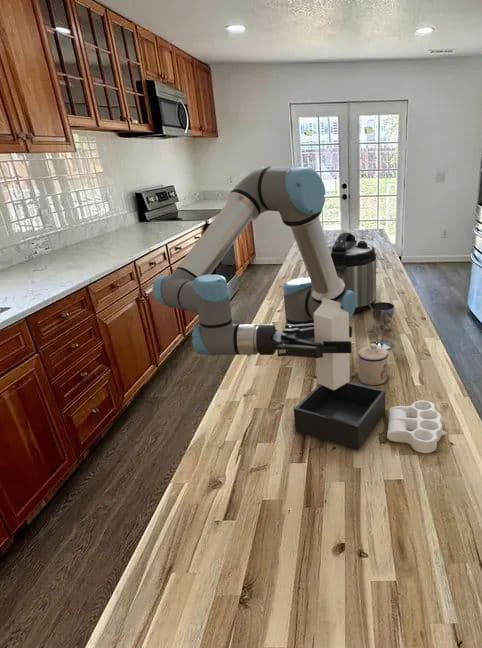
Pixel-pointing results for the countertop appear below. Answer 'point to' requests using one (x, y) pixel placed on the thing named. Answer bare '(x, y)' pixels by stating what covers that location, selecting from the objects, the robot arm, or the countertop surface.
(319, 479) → the countertop surface
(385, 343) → the wine glass
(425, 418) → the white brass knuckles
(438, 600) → the countertop surface
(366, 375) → the teacup with lid
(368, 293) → the pressure cooker
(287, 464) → the countertop surface
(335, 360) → the milk
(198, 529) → the countertop surface
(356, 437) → the tray
